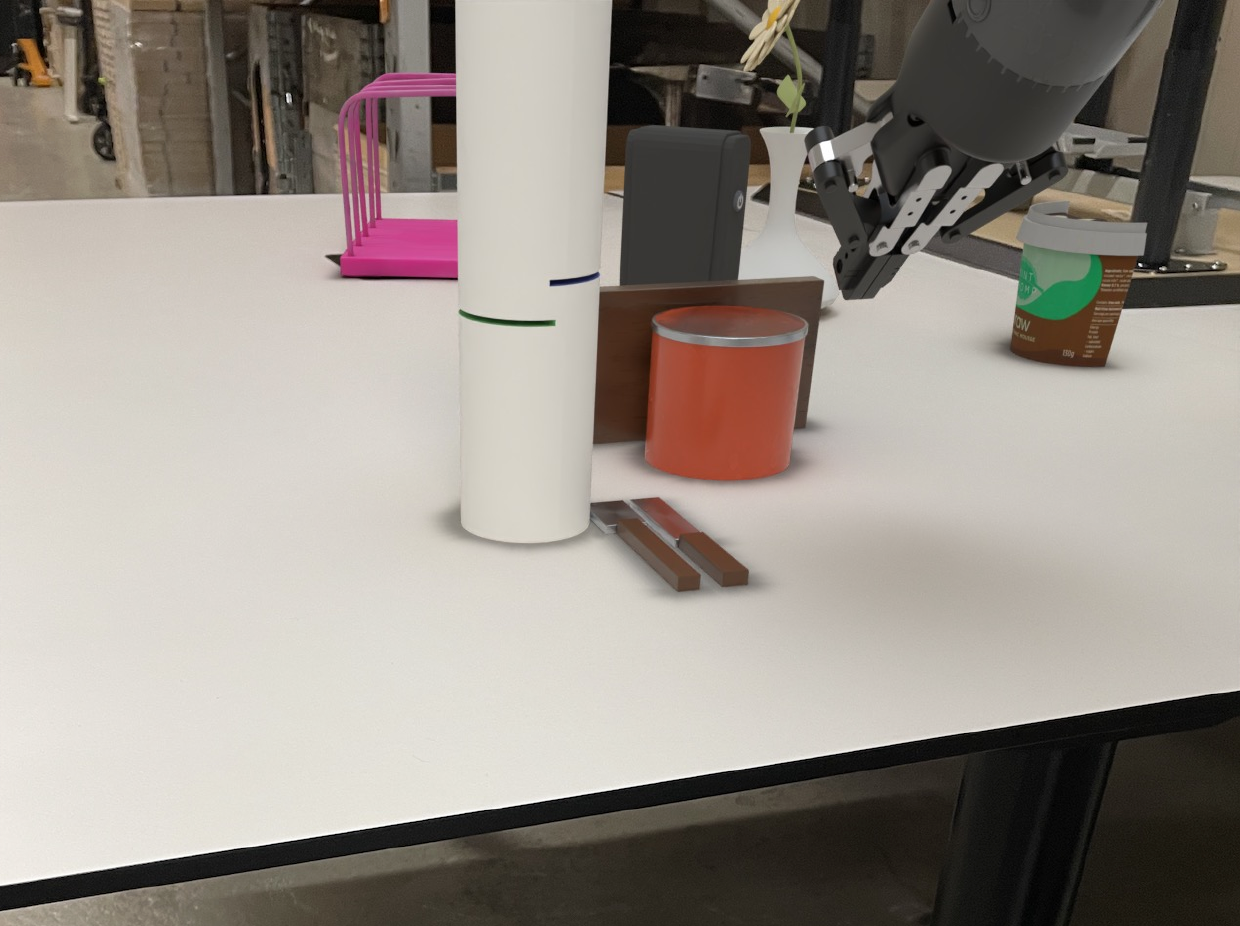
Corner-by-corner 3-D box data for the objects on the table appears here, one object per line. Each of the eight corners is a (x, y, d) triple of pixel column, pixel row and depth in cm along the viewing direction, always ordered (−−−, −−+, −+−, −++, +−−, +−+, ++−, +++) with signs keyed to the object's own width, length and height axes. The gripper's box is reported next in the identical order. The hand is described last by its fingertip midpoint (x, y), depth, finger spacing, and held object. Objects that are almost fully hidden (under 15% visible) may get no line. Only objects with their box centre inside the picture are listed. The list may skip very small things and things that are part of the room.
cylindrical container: (614, 530, 77) (644, -33, 62) (500, 552, 74) (504, -33, 59) (546, 494, 82) (560, -34, 67) (438, 513, 79) (427, -35, 64)
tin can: (811, 451, 89) (829, 315, 85) (760, 490, 83) (777, 344, 78) (677, 431, 93) (687, 299, 88) (618, 467, 86) (626, 326, 82)
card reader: (738, 349, 112) (759, 130, 104) (715, 359, 110) (735, 135, 101) (637, 334, 116) (650, 123, 108) (613, 343, 114) (623, 127, 105)
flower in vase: (721, 295, 130) (750, -39, 115) (845, 304, 127) (892, -38, 112) (688, 323, 120) (716, -38, 105) (822, 334, 117) (870, -37, 102)
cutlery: (751, 585, 71) (753, 569, 70) (666, 593, 70) (667, 578, 69) (658, 505, 81) (659, 491, 80) (582, 512, 80) (582, 497, 79)
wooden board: (796, 423, 95) (814, 275, 90) (806, 428, 94) (825, 280, 88) (570, 439, 91) (575, 287, 86) (578, 446, 90) (583, 292, 85)
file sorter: (340, 279, 135) (329, 86, 126) (372, 236, 156) (364, 67, 146) (521, 282, 135) (523, 88, 125) (529, 239, 155) (532, 69, 146)
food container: (967, 339, 116) (993, 201, 110) (1036, 336, 117) (1065, 199, 111) (1040, 375, 106) (1072, 225, 100) (1115, 371, 107) (1151, 223, 101)
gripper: (1170, -91, 56) (951, 211, 73) (870, -93, 53) (714, 222, 70) (1219, 77, 55) (986, 343, 72) (916, 84, 52) (747, 361, 69)
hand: (852, 283), depth 71 cm, fingers closed
